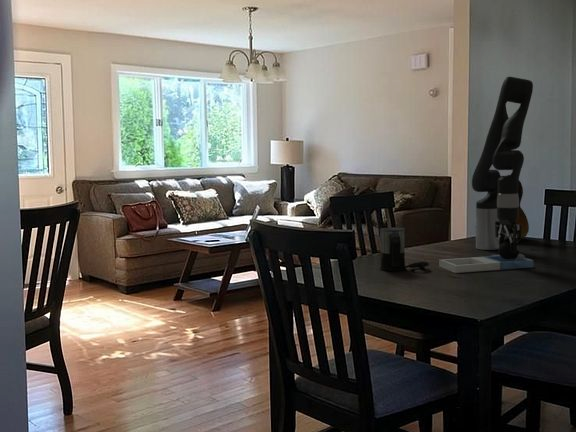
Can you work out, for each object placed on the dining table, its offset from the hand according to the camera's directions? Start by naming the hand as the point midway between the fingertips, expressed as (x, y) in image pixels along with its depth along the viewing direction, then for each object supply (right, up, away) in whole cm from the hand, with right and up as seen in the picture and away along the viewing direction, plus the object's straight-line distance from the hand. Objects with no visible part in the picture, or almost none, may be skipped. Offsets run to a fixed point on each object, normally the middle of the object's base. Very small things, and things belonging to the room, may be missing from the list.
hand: (507, 251), depth 237 cm
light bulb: (+1, -3, 0) cm, 3 cm away
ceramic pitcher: (+20, +2, +63) cm, 66 cm away
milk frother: (-38, -7, -1) cm, 38 cm away
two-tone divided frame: (-8, -6, -1) cm, 10 cm away
